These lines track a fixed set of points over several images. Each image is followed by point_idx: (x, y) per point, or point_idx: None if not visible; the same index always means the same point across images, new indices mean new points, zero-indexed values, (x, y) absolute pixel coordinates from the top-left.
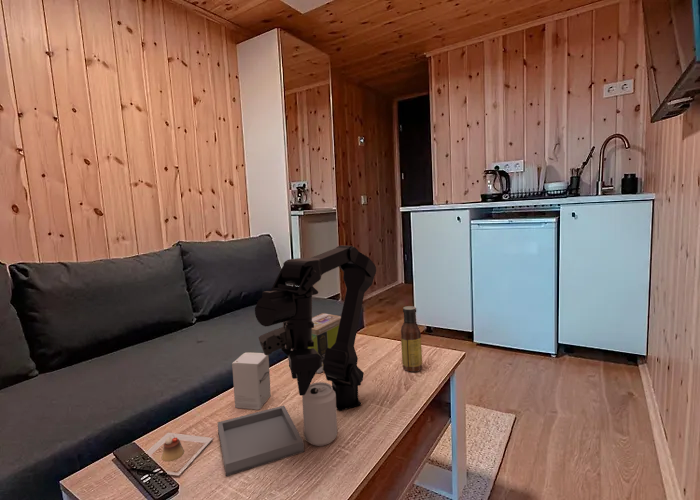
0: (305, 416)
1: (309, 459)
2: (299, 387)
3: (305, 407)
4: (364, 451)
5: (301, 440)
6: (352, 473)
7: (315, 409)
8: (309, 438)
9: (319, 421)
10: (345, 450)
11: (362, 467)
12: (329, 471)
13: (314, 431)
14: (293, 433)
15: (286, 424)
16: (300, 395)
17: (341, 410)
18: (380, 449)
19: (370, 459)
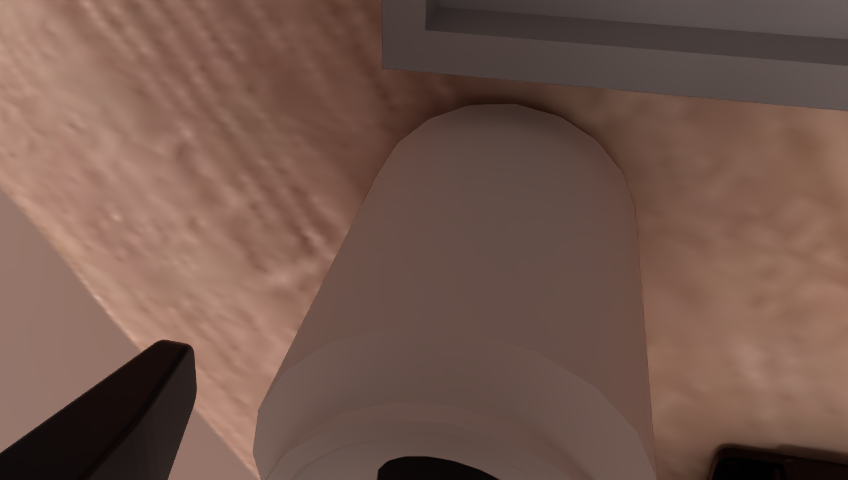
0: (441, 215)
1: (303, 39)
2: (29, 443)
3: (407, 277)
4: (241, 347)
5: (396, 58)
6: (88, 208)
7: (299, 337)
8: (434, 130)
9: (324, 281)
10: (293, 273)
11: (119, 273)
12: (141, 105)
13: (373, 193)
14: (564, 37)
15: (839, 41)
16: (158, 342)
17: (713, 460)
18: (225, 411)
19: (167, 335)
